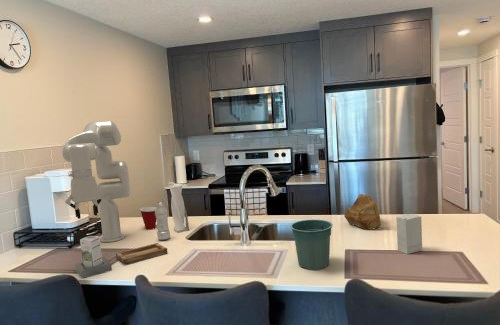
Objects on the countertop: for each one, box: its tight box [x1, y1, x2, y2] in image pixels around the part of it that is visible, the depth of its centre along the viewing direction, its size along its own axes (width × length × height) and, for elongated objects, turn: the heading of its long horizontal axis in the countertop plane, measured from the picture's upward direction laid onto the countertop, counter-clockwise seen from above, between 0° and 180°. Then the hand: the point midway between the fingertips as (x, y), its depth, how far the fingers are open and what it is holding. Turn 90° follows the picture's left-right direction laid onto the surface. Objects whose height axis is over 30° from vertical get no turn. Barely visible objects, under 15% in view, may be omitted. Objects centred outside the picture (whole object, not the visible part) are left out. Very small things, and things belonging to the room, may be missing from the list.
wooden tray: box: [115, 242, 169, 266], centre depth 177 cm, size 12×20×2 cm, turn 126°
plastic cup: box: [139, 206, 158, 230], centre depth 226 cm, size 11×11×12 cm
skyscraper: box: [168, 182, 190, 233], centre depth 216 cm, size 8×8×28 cm
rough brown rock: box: [343, 193, 381, 230], centre depth 201 cm, size 23×17×15 cm
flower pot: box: [290, 218, 334, 270], centre depth 151 cm, size 16×16×16 cm
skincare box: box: [396, 213, 423, 255], centre depth 158 cm, size 8×6×15 cm
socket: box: [74, 256, 113, 279], centre depth 162 cm, size 12×12×3 cm
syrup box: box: [79, 235, 103, 269], centre depth 162 cm, size 6×6×14 cm
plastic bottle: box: [155, 201, 171, 241], centre depth 200 cm, size 6×7×20 cm
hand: (87, 216), depth 160 cm, fingers open, 6 cm apart
